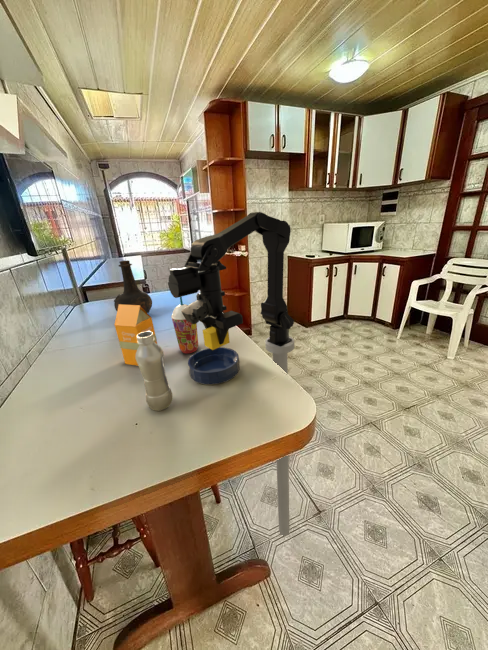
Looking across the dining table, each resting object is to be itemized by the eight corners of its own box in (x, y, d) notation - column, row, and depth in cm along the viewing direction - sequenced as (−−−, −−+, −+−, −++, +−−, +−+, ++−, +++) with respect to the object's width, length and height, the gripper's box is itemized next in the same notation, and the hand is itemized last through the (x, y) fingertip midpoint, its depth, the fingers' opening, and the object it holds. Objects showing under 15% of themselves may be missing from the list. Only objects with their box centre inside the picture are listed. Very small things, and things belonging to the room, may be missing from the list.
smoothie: (173, 354, 95) (162, 300, 87) (186, 343, 102) (177, 293, 94) (193, 356, 91) (184, 301, 84) (205, 346, 99) (197, 293, 91)
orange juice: (140, 353, 97) (127, 300, 89) (160, 355, 94) (148, 301, 86) (124, 364, 90) (109, 308, 83) (145, 367, 87) (131, 309, 80)
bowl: (220, 354, 92) (219, 342, 90) (250, 370, 81) (249, 357, 79) (181, 372, 83) (178, 359, 81) (208, 393, 72) (206, 379, 70)
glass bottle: (121, 312, 144) (107, 260, 133) (155, 308, 147) (144, 256, 137) (114, 324, 128) (98, 265, 117) (153, 318, 131) (140, 261, 121)
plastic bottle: (150, 417, 64) (131, 343, 57) (146, 402, 70) (128, 333, 62) (177, 408, 67) (162, 335, 59) (170, 394, 73) (156, 326, 65)
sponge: (221, 338, 80) (219, 323, 78) (229, 342, 77) (228, 326, 75) (204, 345, 76) (202, 329, 75) (212, 350, 74) (210, 333, 72)
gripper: (166, 290, 73) (176, 341, 79) (203, 303, 59) (211, 363, 65) (201, 282, 79) (208, 330, 85) (241, 291, 66) (246, 348, 72)
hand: (217, 341), depth 77 cm, fingers closed on sponge, 4 cm apart
